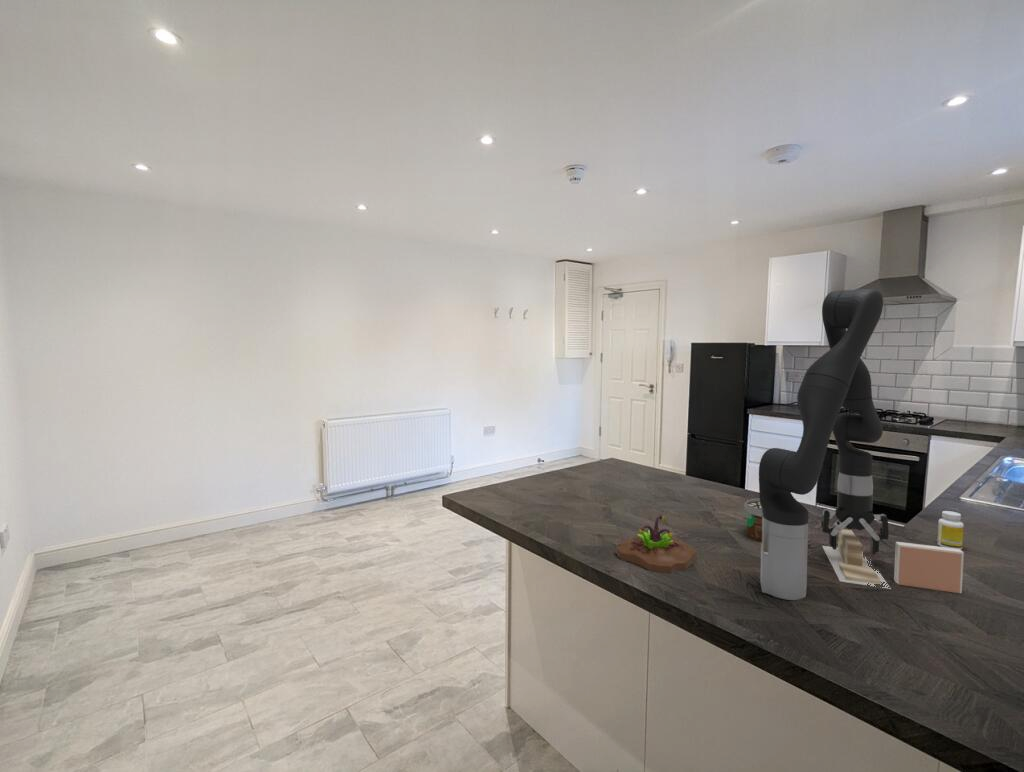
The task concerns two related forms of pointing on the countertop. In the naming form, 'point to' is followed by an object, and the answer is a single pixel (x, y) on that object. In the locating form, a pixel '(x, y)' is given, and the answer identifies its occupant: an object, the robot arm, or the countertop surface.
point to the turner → (854, 559)
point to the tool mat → (837, 558)
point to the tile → (929, 567)
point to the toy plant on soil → (657, 550)
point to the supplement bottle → (950, 530)
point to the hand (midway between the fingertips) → (853, 550)
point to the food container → (754, 518)
